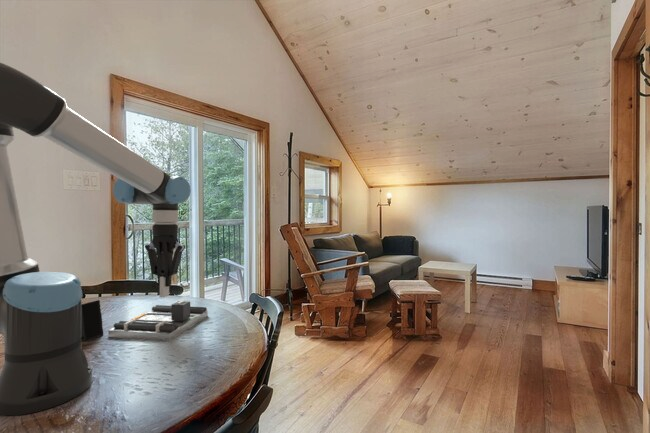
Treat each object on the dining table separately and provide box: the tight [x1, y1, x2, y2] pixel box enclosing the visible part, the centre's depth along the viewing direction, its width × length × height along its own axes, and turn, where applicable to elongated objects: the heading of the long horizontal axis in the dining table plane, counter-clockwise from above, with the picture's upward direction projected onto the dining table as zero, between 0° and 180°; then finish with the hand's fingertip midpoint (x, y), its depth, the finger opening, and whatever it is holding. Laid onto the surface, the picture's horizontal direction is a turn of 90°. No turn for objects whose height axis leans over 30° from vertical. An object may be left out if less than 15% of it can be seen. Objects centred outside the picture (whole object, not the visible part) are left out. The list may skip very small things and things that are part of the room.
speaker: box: [81, 299, 104, 342], centre depth 96 cm, size 8×6×10 cm
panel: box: [107, 309, 209, 342], centre depth 104 cm, size 22×19×2 cm
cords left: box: [113, 318, 178, 332], centre depth 96 cm, size 4×19×2 cm, turn 82°
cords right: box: [151, 304, 208, 313], centre depth 113 cm, size 4×19×2 cm, turn 83°
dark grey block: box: [170, 300, 191, 321], centre depth 104 cm, size 4×4×5 cm
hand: (164, 296), depth 106 cm, fingers closed
